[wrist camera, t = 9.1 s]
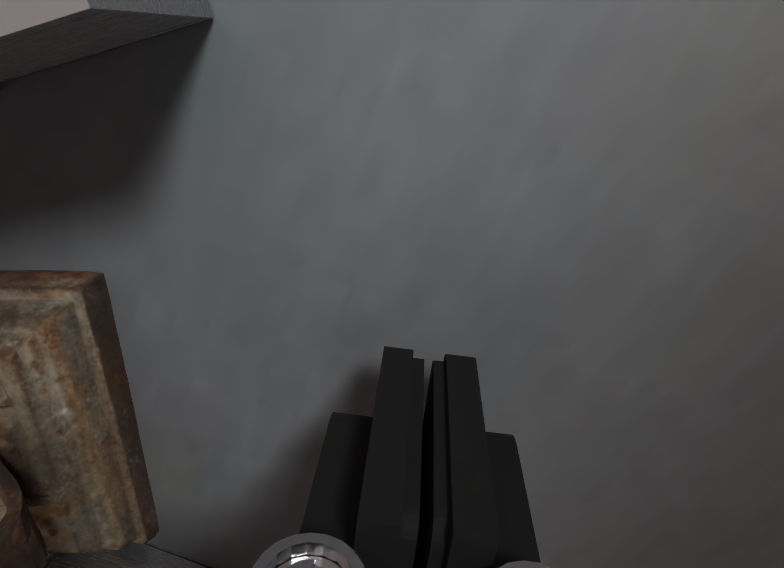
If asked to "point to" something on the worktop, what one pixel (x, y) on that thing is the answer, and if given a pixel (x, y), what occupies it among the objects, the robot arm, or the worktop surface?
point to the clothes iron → (66, 423)
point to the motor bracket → (64, 44)
